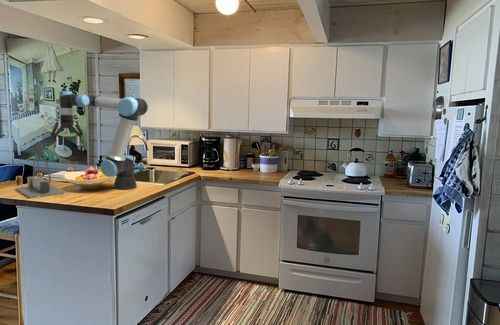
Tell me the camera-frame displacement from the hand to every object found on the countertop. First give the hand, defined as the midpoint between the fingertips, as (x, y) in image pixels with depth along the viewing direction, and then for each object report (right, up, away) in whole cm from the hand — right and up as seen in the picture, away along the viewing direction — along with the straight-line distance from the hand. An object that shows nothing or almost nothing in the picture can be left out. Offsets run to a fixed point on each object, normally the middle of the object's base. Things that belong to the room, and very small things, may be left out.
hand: (67, 146), depth 243 cm
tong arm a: (-10, -28, -13) cm, 33 cm away
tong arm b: (-11, -29, -14) cm, 34 cm away
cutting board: (-12, -30, -11) cm, 34 cm away
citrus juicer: (-28, -26, +14) cm, 41 cm away
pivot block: (-20, -28, -4) cm, 34 cm away
